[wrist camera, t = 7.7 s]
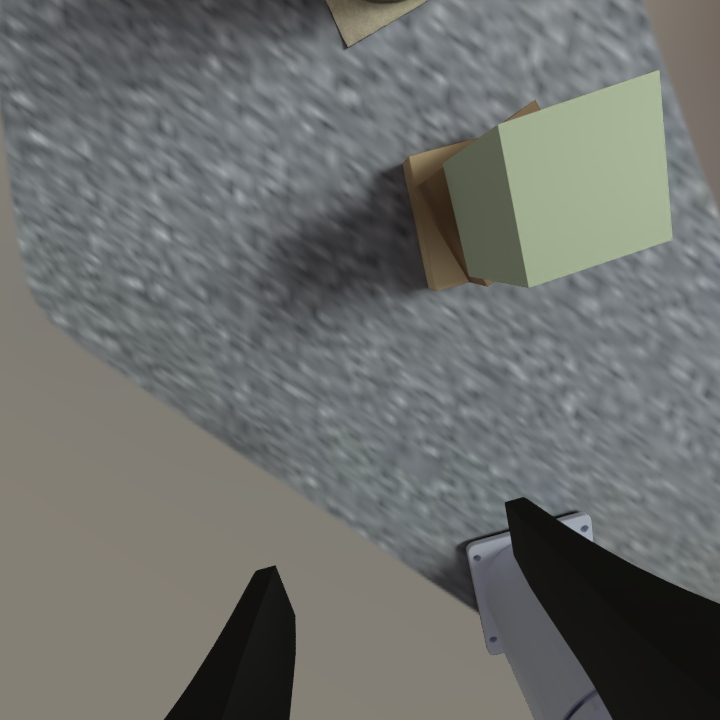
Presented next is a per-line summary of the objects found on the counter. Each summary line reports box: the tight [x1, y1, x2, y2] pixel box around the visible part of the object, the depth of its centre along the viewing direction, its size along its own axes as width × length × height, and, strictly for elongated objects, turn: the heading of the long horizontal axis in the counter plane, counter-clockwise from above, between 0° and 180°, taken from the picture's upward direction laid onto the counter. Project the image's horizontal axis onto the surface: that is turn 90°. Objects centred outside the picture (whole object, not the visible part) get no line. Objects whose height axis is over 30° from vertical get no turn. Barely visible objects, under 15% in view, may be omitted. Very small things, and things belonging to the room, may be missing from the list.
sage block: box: [443, 70, 672, 288], centre depth 13 cm, size 4×4×5 cm
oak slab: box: [403, 138, 478, 291], centre depth 19 cm, size 6×6×2 cm
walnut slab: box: [414, 100, 540, 286], centre depth 17 cm, size 5×5×2 cm
